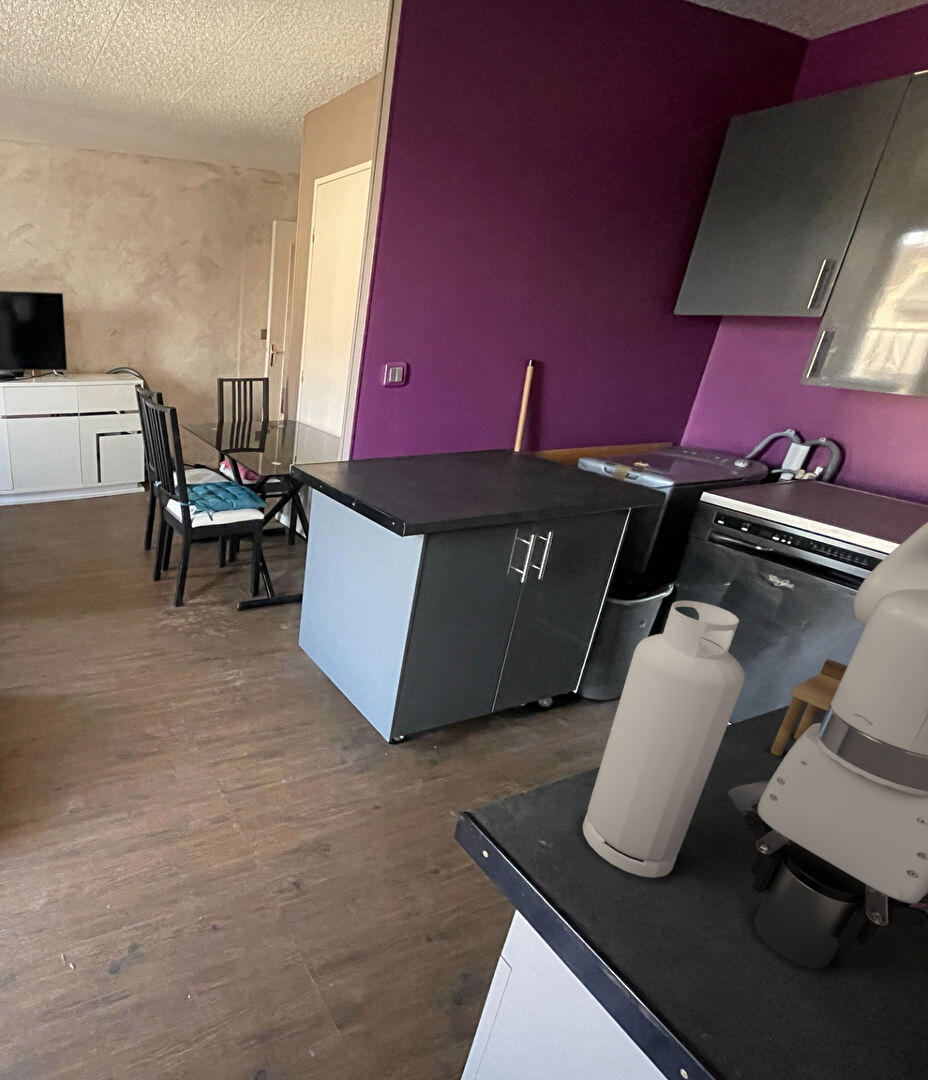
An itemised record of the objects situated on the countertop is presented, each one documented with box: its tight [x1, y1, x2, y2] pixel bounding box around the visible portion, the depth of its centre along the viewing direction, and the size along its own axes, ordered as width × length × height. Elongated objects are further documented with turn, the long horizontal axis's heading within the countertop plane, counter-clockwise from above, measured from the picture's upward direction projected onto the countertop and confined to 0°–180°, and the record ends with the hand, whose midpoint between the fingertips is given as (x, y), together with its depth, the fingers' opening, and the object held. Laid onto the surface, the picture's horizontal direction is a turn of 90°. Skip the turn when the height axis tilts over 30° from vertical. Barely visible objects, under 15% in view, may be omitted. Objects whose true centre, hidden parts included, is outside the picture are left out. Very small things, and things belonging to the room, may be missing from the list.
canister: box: [753, 842, 865, 969], centre depth 51 cm, size 5×5×9 cm
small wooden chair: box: [770, 658, 848, 757], centre depth 72 cm, size 8×7×12 cm
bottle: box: [582, 600, 746, 878], centre depth 57 cm, size 8×8×28 cm
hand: (805, 910), depth 51 cm, fingers open, 5 cm apart
